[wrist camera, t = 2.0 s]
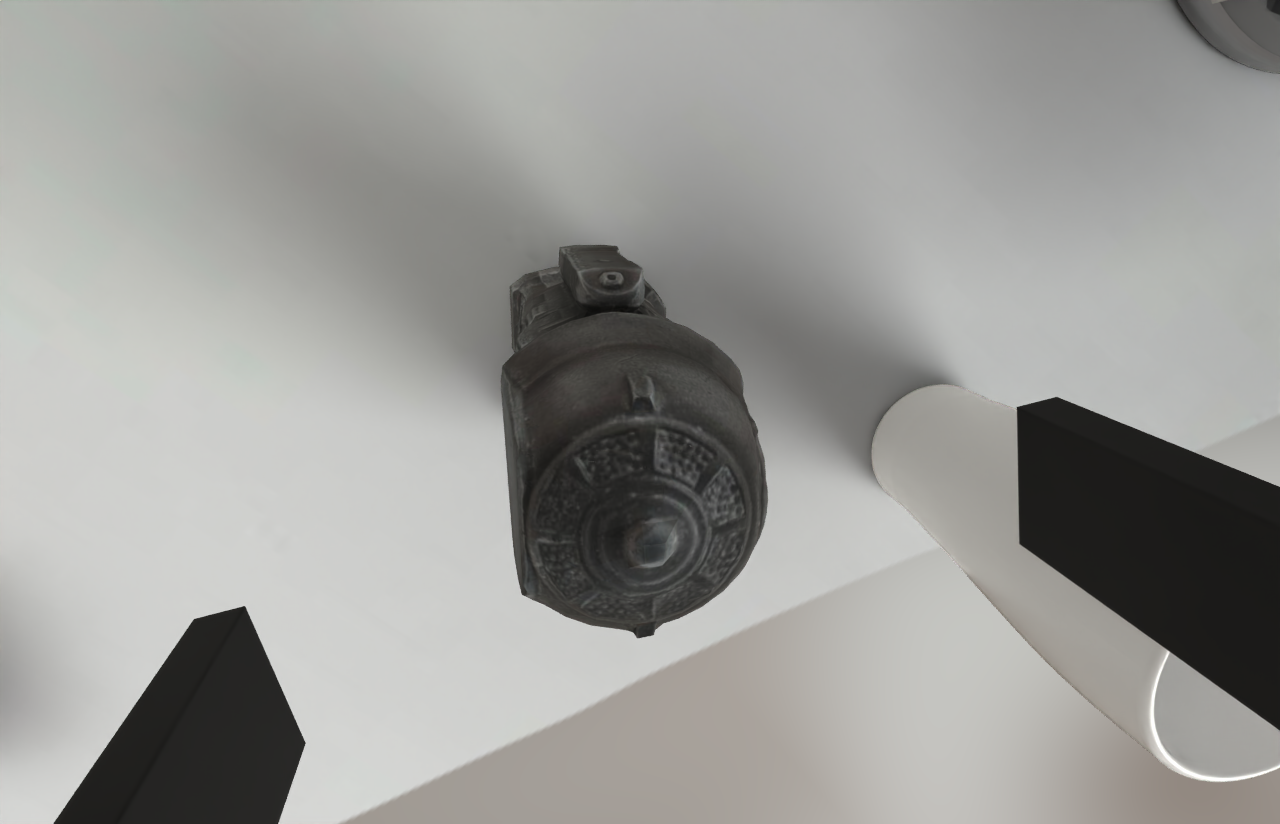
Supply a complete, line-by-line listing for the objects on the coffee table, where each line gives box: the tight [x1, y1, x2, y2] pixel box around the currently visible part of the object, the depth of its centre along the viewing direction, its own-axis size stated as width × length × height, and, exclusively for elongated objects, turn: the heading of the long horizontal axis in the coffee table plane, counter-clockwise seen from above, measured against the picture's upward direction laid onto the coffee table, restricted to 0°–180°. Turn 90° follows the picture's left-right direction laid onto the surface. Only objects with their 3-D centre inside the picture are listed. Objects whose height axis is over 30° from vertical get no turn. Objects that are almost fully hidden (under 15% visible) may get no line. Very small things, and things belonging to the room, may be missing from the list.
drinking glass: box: [871, 384, 1280, 782], centre depth 24 cm, size 7×7×15 cm
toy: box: [501, 245, 768, 638], centre depth 20 cm, size 8×6×15 cm
